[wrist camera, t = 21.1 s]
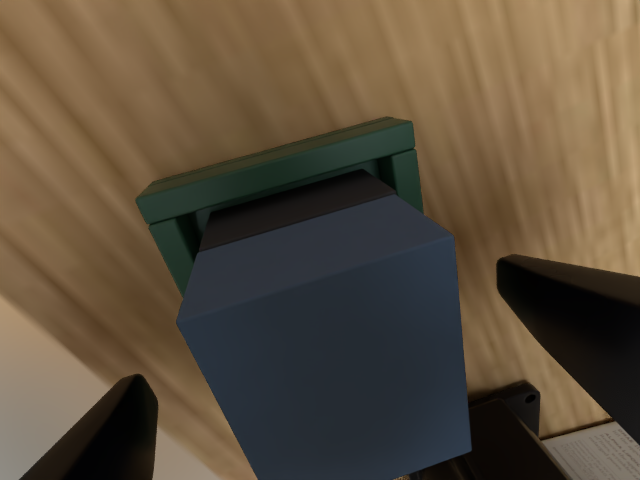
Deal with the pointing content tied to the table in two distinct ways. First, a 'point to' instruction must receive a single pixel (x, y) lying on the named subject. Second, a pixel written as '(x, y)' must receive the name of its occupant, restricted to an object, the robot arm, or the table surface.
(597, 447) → the cosmetic box
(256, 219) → the charcoal pad
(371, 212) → the blue pad
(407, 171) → the frame
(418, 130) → the table surface
